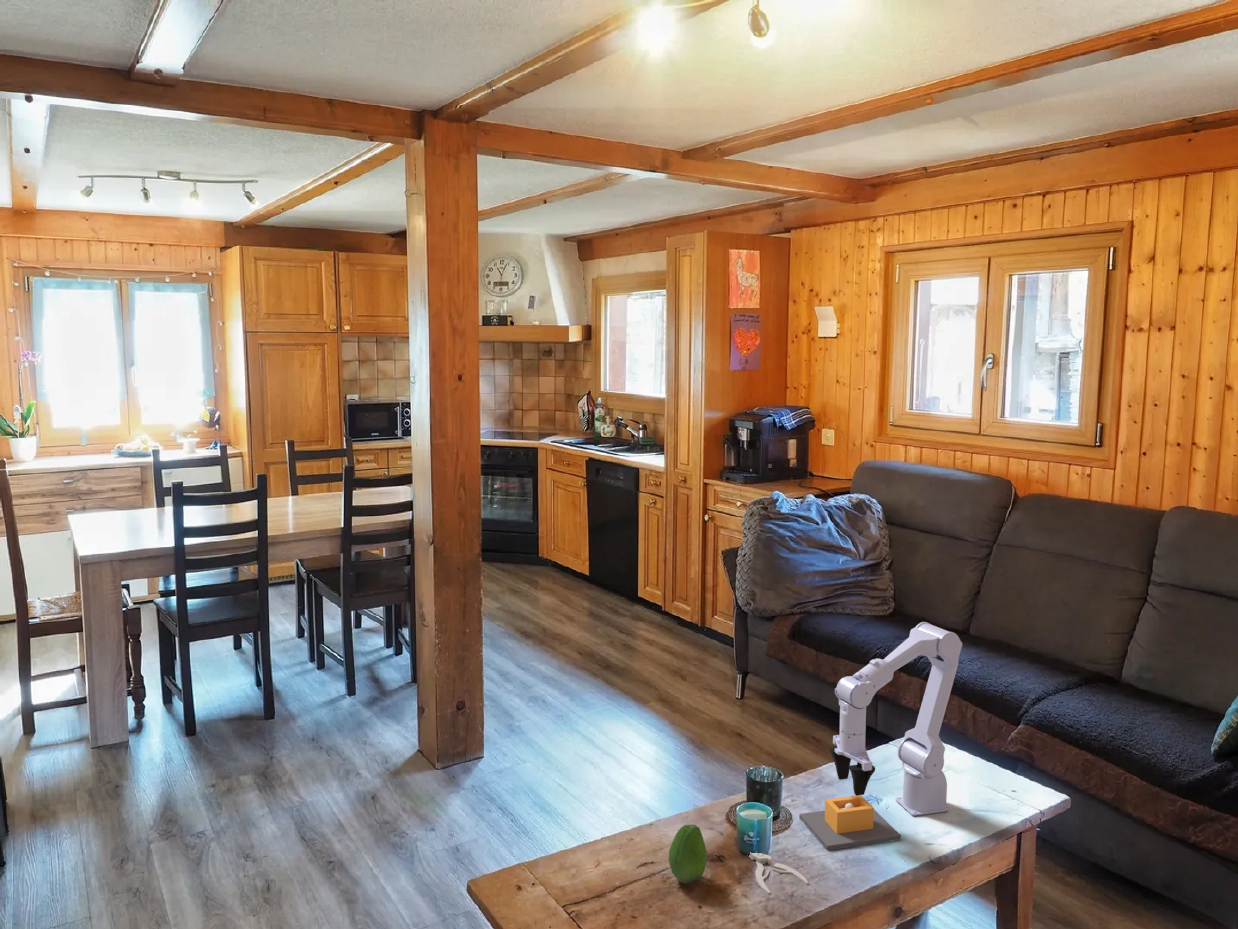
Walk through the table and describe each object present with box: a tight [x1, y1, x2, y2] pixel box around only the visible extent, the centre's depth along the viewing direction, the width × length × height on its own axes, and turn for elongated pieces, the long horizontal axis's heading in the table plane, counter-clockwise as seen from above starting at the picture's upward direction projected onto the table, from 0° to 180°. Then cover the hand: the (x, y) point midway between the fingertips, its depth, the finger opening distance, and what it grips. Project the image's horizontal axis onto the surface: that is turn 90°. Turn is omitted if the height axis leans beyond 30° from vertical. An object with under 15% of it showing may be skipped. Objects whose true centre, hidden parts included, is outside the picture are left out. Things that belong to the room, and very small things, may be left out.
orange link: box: [824, 795, 875, 834], centre depth 203 cm, size 9×6×5 cm, turn 103°
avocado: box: [668, 824, 708, 884], centre depth 183 cm, size 8×8×12 cm
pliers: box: [748, 852, 809, 895], centre depth 187 cm, size 10×2×15 cm
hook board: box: [799, 803, 902, 851], centre depth 203 cm, size 18×14×6 cm
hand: (851, 786), depth 204 cm, fingers open, 7 cm apart
